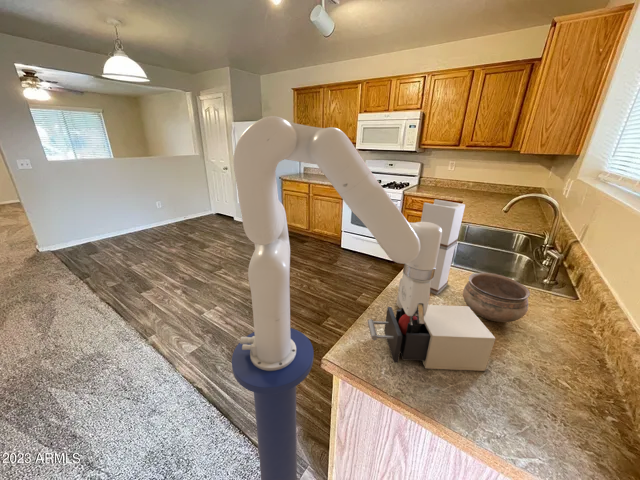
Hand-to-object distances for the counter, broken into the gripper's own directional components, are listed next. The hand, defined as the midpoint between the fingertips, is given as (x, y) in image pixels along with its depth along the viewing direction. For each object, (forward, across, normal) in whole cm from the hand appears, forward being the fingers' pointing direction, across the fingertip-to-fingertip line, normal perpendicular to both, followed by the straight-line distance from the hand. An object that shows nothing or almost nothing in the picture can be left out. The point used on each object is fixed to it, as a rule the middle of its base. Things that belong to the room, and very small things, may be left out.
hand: (408, 327), depth 74 cm
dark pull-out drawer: (+7, 0, -1) cm, 7 cm away
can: (+8, -21, +6) cm, 23 cm away
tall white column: (+8, -38, +20) cm, 44 cm away
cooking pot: (+8, -18, +34) cm, 40 cm away
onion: (+3, 0, 0) cm, 3 cm away
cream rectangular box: (+8, 0, +12) cm, 14 cm away
